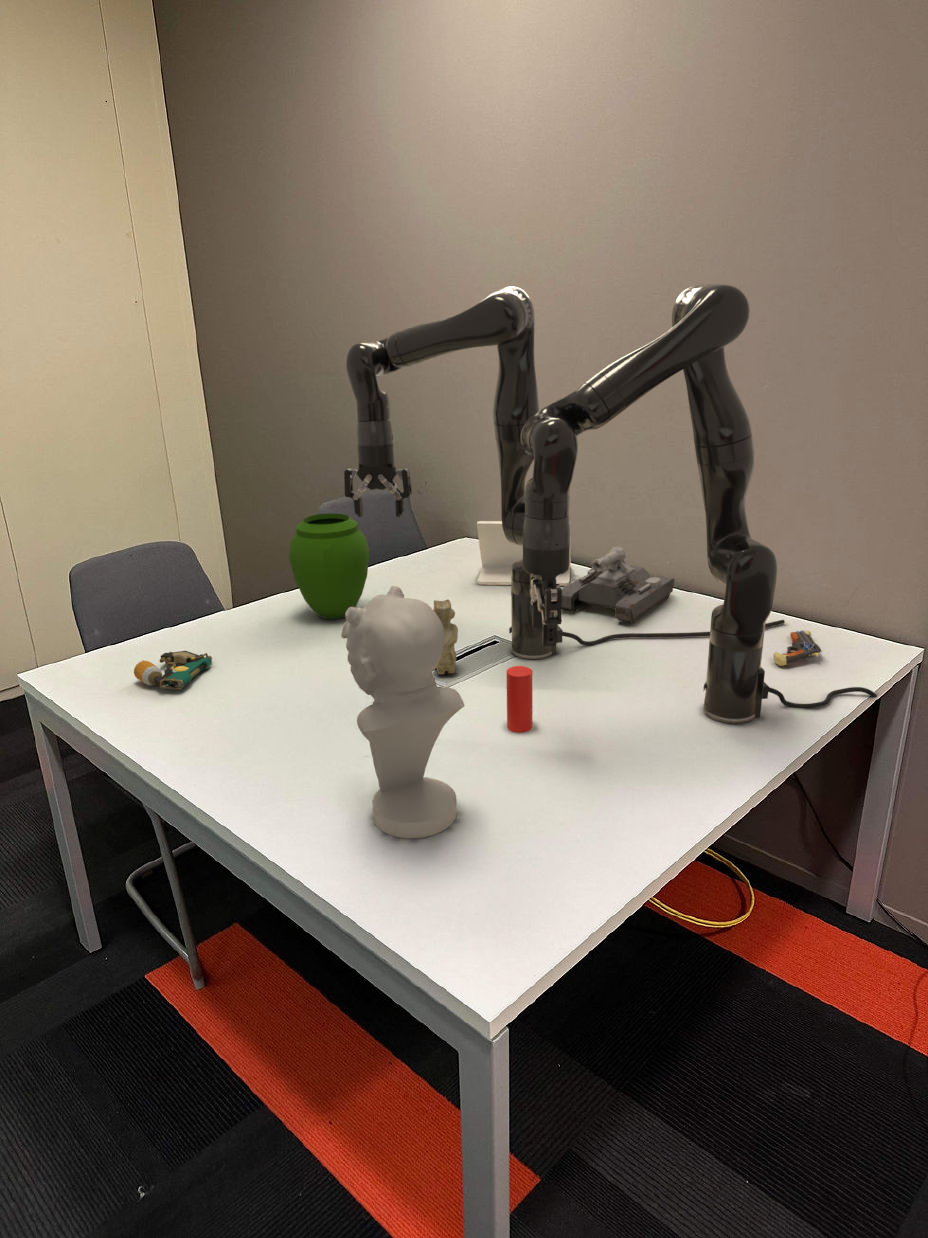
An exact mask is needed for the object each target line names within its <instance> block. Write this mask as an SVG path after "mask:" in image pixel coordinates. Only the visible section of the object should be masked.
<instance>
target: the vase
mask: <svg viewBox="0 0 928 1238" xmlns="http://www.w3.org/2000/svg"><path fill="white" fill-rule="evenodd" d="M358 524H359V523H358V521H356V520H355V519H353V518H352V517H350V516H349V515H347V514H344V513H335V512H334V513H333V512H331V513H320V514H313V515H310V516H307V517H305V518H303V519H302V520H301V521H300V522H299V523H298V524H297V525H296V526H295V532H296V533H295V534H294V536H293V537H292V538H291V540H290V542H289V551H288V559H289V564H290V566H291V567H290V568H291V570H292V575H293V578H294V581H295V584H296V586H297V587H298V589H299V591H300V593H301V596H302V597H303V600H304V601H305V603H306V604H307V605H308V607H309V608H310V609H311V611H312V612H314V613H315V614H316V615H317V616H318V617H320V618H324V619H326V620H327V619H329V620H336V619H341V618H346V616H345V613H346V611H347V609H348V608H349V607H355V608H357V605H358V604H359V601H360V599H361V597H362V595H363V592H364V588H365V586H366V581H367V578H368V570H369V561H370V560H369V559H370V548H369V545H368V541H367V537H366V535H365V534H364V533H363V532H362V531H361V530H360V529H359V527H358Z"/></svg>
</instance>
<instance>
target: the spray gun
mask: <svg viewBox="0 0 928 1238" xmlns="http://www.w3.org/2000/svg"><path fill="white" fill-rule="evenodd" d="M212 660H213V657H212V656H211V655H208V653H207V652H205V653H201V654H197V653H194V652H192V651H191V652H190V651H188V650H180V651H169V652H164V653H162V654H161V655H160V658H159V660H158V662H159V663H161V664H163V663H165V664H166V668H165V670H163V672H164V674H163V673H162V669H160V668H159V666H157V665H156V664H154V663H152V662H151V661H149V660H141V661H139V662H138V663H136V665H135V666H134V668H133V675H134V677H135V678H136V679H137V680H139V681H140V682H142V683H143V684H145V685H147V686H155V685H157V686H158V687H160V688H161V689H171V690H172V689H173V690H182V689H184V687H185V686H186V685H188V684H189V683H190V682H191V681H192V679H193V678H195V677H196V676H197V675H198V674H200V673H201V672H202V671H203V670H206V669H208V668H209V667H210V666H211V665H212V662H213V661H212ZM178 663H179V664H181V665H179V666H176V665H177V664H178Z"/></svg>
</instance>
